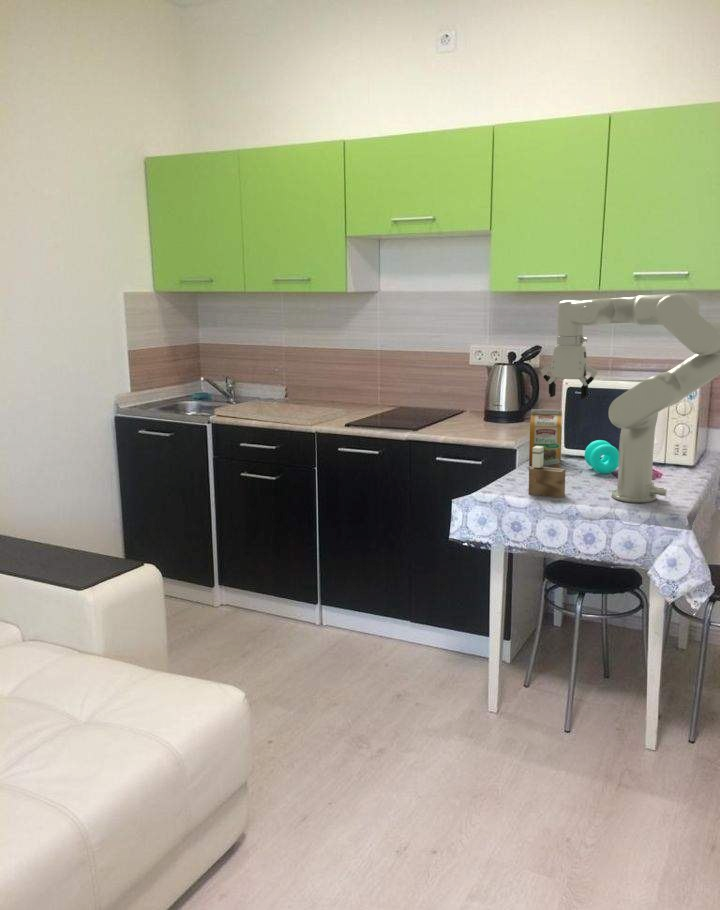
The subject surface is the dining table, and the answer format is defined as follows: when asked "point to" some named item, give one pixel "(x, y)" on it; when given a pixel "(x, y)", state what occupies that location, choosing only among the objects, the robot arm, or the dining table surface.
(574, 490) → the dining table surface
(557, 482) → the brown wooden block
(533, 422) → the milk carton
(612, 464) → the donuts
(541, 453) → the white lidded box
